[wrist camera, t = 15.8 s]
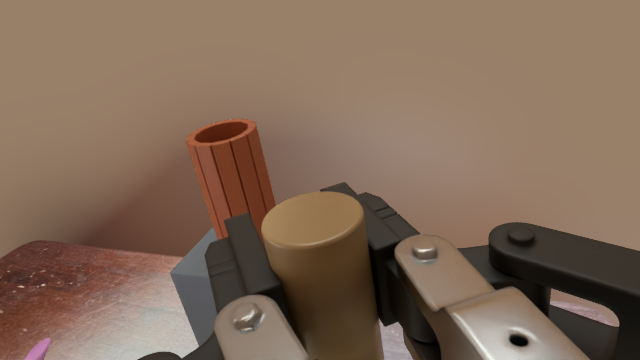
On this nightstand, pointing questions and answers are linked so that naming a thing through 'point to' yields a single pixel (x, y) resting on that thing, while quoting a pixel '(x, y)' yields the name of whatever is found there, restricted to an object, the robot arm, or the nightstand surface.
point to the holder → (221, 206)
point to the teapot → (39, 350)
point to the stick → (325, 274)
